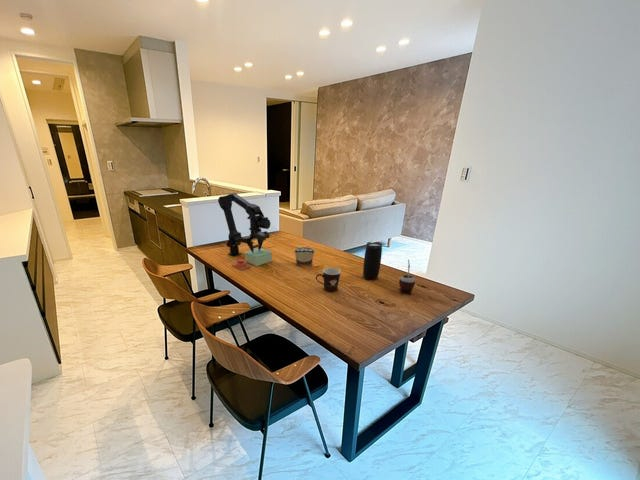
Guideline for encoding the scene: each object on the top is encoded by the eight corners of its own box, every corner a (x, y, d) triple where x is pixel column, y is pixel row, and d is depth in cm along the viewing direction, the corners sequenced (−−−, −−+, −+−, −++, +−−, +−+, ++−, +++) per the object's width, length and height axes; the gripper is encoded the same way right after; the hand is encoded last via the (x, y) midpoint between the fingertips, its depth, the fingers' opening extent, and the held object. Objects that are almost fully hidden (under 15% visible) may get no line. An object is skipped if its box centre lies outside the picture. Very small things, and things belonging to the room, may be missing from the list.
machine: (245, 261, 191) (245, 253, 189) (260, 256, 198) (260, 249, 196) (256, 266, 183) (256, 258, 181) (272, 261, 190) (271, 253, 188)
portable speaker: (376, 274, 168) (381, 241, 160) (379, 281, 159) (384, 246, 151) (361, 273, 169) (365, 240, 161) (363, 280, 161) (367, 246, 153)
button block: (232, 266, 184) (231, 261, 183) (240, 263, 188) (240, 258, 187) (241, 270, 177) (241, 265, 176) (250, 267, 181) (249, 263, 180)
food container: (313, 261, 188) (314, 246, 184) (314, 265, 182) (314, 250, 178) (294, 261, 189) (294, 246, 185) (294, 265, 183) (294, 249, 179)
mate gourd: (406, 296, 144) (411, 267, 138) (393, 289, 150) (397, 262, 144) (416, 292, 147) (422, 264, 141) (403, 286, 153) (408, 259, 147)
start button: (236, 262, 182) (236, 260, 181) (241, 261, 184) (241, 258, 183) (240, 264, 179) (239, 261, 178) (244, 262, 181) (244, 260, 180)
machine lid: (244, 253, 189) (244, 245, 187) (259, 248, 197) (259, 241, 195) (256, 258, 181) (255, 250, 179) (271, 253, 188) (271, 245, 186)
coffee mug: (340, 286, 154) (341, 269, 150) (337, 294, 147) (339, 275, 143) (318, 284, 158) (319, 266, 154) (314, 291, 151) (315, 272, 146)
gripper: (250, 231, 172) (251, 257, 179) (274, 226, 183) (275, 250, 190) (239, 228, 180) (241, 252, 186) (263, 223, 191) (264, 246, 197)
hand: (255, 250), depth 190 cm, fingers closed on machine lid, 6 cm apart
